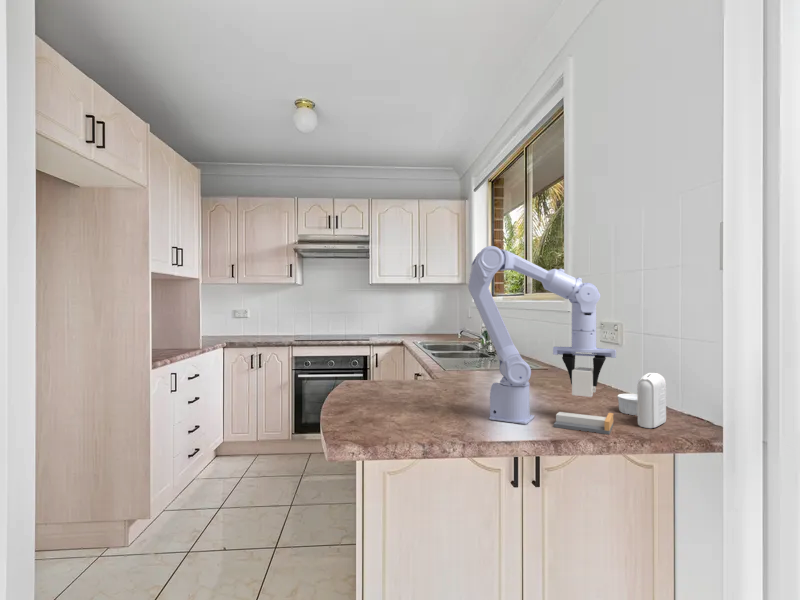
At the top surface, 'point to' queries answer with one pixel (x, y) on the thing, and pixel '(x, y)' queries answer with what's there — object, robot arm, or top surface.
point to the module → (583, 382)
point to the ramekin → (628, 403)
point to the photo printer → (651, 400)
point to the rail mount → (584, 422)
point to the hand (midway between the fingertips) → (583, 384)
